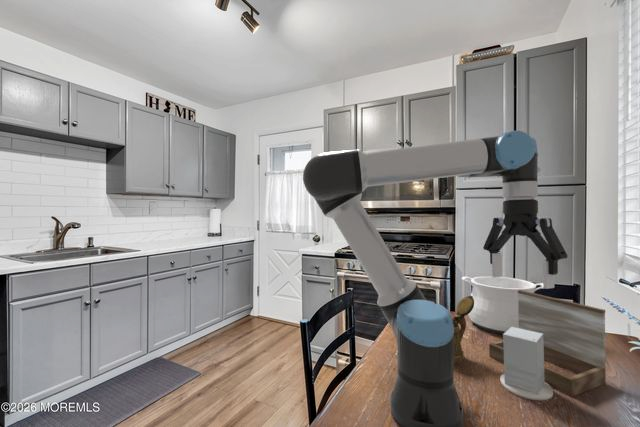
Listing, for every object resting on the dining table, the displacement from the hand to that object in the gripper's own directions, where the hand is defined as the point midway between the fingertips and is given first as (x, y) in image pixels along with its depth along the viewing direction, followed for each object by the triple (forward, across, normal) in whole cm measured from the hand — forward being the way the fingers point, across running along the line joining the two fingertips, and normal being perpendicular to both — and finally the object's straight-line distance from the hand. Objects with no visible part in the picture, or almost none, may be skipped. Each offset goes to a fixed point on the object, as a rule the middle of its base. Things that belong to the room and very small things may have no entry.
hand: (520, 282), depth 78 cm
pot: (+26, +30, -31) cm, 51 cm away
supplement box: (+25, -1, +1) cm, 26 cm away
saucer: (+26, -1, +1) cm, 26 cm away
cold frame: (+26, +3, -12) cm, 29 cm away
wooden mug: (+26, +18, +4) cm, 32 cm away
